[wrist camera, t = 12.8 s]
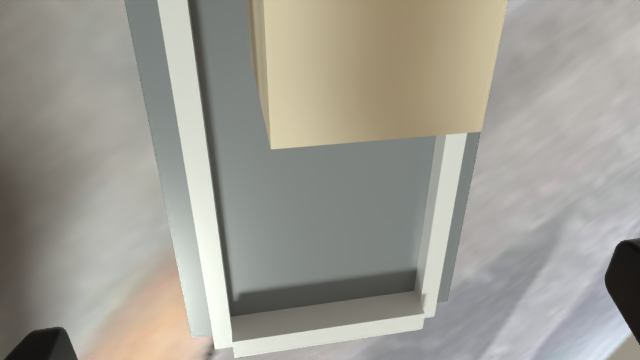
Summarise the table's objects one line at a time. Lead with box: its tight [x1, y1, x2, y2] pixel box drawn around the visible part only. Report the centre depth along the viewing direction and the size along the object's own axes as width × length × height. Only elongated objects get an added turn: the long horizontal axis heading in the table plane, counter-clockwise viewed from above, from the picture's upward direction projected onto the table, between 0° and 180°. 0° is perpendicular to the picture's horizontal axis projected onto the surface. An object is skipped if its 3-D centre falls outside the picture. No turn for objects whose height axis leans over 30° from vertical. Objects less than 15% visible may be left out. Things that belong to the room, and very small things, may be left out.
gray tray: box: [124, 0, 481, 358], centre depth 17 cm, size 12×20×5 cm, turn 0°
